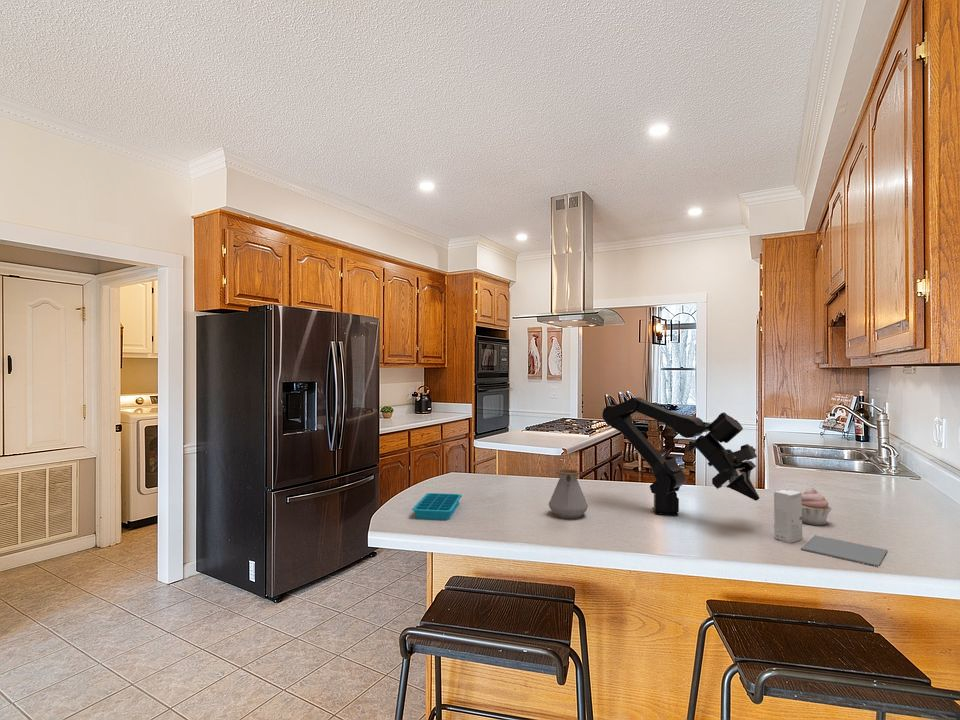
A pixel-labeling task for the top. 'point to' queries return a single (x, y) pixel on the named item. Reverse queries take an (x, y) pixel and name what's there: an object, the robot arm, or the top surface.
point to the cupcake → (814, 507)
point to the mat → (845, 550)
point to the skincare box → (788, 515)
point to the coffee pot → (568, 496)
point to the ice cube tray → (436, 506)
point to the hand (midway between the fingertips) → (757, 499)
